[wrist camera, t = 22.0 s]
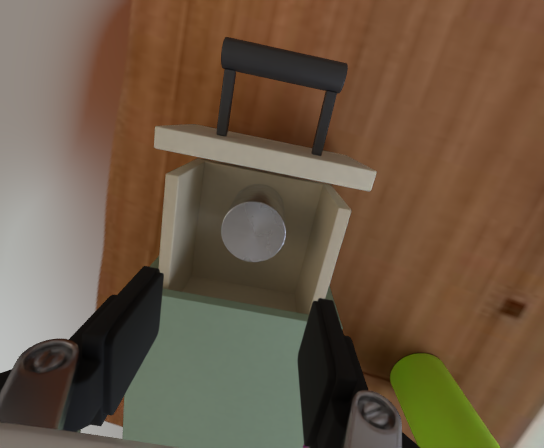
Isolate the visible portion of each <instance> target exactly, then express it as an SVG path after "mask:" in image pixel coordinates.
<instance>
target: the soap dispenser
mask: <svg viewBox="0 0 544 448" xmlns="http://www.w3.org/2000/svg"><path fill="white" fill-rule="evenodd" d="M390 381H391V384H392V387H393V389H394V391H395V394H396V396H397V398H398V401H399V403H400V405H401V408H402V410H403V412H404V415H405V417H406V419H407V421H408V424H409V426H410V428H411V431H412V433H413V435H414V438H415V440H416V442H417V445H418V446H419V447H420V448H500V446H499V445H498V443H497V442H496V440H495V439H494V438H493V436H492V435H491V433H490V432H489V430H488V429H487V427H486V426H485V424H484V423H483V421H482V420H481V418H480V417H479V415H478V414H477V412H476V411H475V410H474V408H473V407H472V405H471V404H470V402H469V401H468V399H467V398H466V396H465V395H464V393H463V392H462V390H461V389H460V387H459V386H458V384H457V383H456V382H455V380H454V379H453V377H452V376H451V374H450V373H449V371H448V370H447V368H446V367H445V365H444V364H443V362H442V361H441V360H440V359H439V358H437V357H435V356H433V355H430V354H425V353H418V354H412V355H409V356H406V357H404V358H402V359H401V360H400V361H398V362H397V363H396V364H395V365H394V367H393V368H392V370H391V373H390Z"/></svg>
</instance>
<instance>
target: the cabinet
mask: <svg viewBox="0 0 544 448" xmlns="http://www.w3.org/2000/svg"><path fill="white" fill-rule="evenodd" d="M150 267H153V268H158V267H159V256H158V258H157V259H156V260H155V261H154V262H153V263H152V264H151V266H150ZM325 299H328V300H333V302H334V299H333V296H332V292H331V289H330V286H329V287H328V291H327V294H326V297H325ZM334 305H335V302H334ZM335 308H336V305H335ZM336 311H337V309H336ZM337 315H338V312H337ZM308 317H309V315H308V314H302V313H297V312H291V311H286V310H280V309H274V308H269V307H263V306H258V305H252V304H247V303H241V302H235V301H230V300H224V299H219V298H213V297H208V296H202V295H197V294H191V293H185V292H180V291H174V290H169V289H163V291H162V303H161V314H160V326H159V332H158V335H157V337H156V339H155V341H154V343H153V345H152V346H151V348H150V350H149V352H148V354H147V355H146V357H145V359H144V361H143V363H142V364H141V366H140V368H139V370H138V371H137V373H136V375H135V377H134V379H133V380H132V382H131V384H130V386H129V388H128V389H127V391H126V393H125V395H124V417H123V439H125V440H132V441H138V442H145V443H152V444H158V445H165V446H171V447H178V448H303V445H304V438H303V426H302V413H301V400H300V388H299V375H298V363H297V359H298V352H299V348H300V345H301V341H302V338H303V334H304V331H305V327H306V324H307V320H308ZM338 318H339V315H338ZM339 321H340V318H339ZM340 325H341V328H342V329H343V327H342V324H341V321H340Z"/></svg>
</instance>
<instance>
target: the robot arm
mask: <svg viewBox="0 0 544 448" xmlns="http://www.w3.org/2000/svg"><path fill="white" fill-rule="evenodd" d="M163 280H164V274H163V273H160V270H159V269H158V268H153V267H147V266H144V267H143V268H142V269H141V270H140V271H139V272H138V273H137V274H136V275H135V276H134V277H133V279H132V280H131V281H130V282H129V283H128V284H127V285H126V286H125V287H124V288H123V289H122V291H121V292H120V293H119V294H118V295H111V296H110V297H109V298H108V299H107V300H106V301H105V302H104V303H103V304H102V305H101V306H100V307H99V308H98V309H97V310H96V311H95V313H94V314H93V315H92V316H91V317H90V318H89V319H88V320H87V321H86V322H85V323H84V325H82V326H81V327H80V328H79V329H78V331H77V332H76V333H75V334H74V335H73V336H72V337H71V338H70V339H69V340H67V339H51V340H46V341H43V342H40V343H38V344H35V345H33V346H32V347H30V348H28V349H27V350H26V351H24V352H23V353H22V354H21V356H20V357H19V358H18V359H17V361H16V363H15V365H14V367H13V369H12V370H9V371H6V372H3V373H0V448H178V447H171V446H165V445H158V444H152V443H145V442H138V441H132V440H125V439H118V438H112V437H104V436H98V435H91V434H85V433H80V431H81V429H82V428H84V427H86V426H88V425H97V426H101V425H102V424H103V422H104V420H105V418H106V417H107V415H113V414H114V412H115V411H116V409H117V407H118V406H119V404H120V402H121V400H122V398H123V397H124V395H125V393H126V391H127V389H128V388H129V386H130V384H131V382H132V380H133V379H134V377H135V375H136V373H137V371H138V370H139V368H140V366H141V364H142V363H143V361H144V359H145V357H146V355H147V354H148V352H149V350H150V348H151V346H152V345H153V343H154V341H155V339H156V337H157V335H158V332H159V326H160V314H161V303H162V291H163ZM297 363H298V375H299V388H300V400H301V413H302V426H303V438H304V445H305V446H308V447H309V448H420V447H419V446H418V445H417V444H415V443H414V442H413V441H412V440H411V439H410V438H408V437H407V436H406V435H405V434H404V433H402V423H401V418H400V415H399V413H398V411H397V409H396V408H395V407H394V405H393V404H392V403H391V402H390V401H389V400H388V399H386V398H385V397H384V396H382V395H380V394H379V393H376V392H373V391H369V390H368V388H367V385H366V382H365V379H364V376H363V373H362V370H361V367H360V364H359V361H358V358H357V355H356V352H355V349H354V346H353V343H352V340H351V338H350V337H349V336H344V334H343V331H342V328H341V325H340V321H339V318H338V315H337V311H336V308H335V305H334V302H333V300H328V299H323V298H319V299H318V301H313V303H312V306H311V310H310V313H309V317H308V320H307V324H306V327H305V331H304V334H303V338H302V341H301V345H300V348H299V352H298V359H297Z"/></svg>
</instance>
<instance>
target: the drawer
mask: <svg viewBox="0 0 544 448" xmlns="http://www.w3.org/2000/svg"><path fill="white" fill-rule="evenodd" d="M221 65H222V68H223V69H225V71H224V78H223V86H222V94H221V101H220V109H219V117H218V125H217V129H216V128H211V127H206V126H201V125H197V124H185V125H166V126H156V127H155V137H154V148H156V149H161V150H166V151H171V152H176V153H181V154H186V155H191V156H196V157H201V158H206V159H211V160H215V161H220V162H225V163H230V164H235V165H240V166H245V167H250V168H255V169H260V170H265V171H270V172H275V173H280V174H285V175H290V176H295V177H300V178H305V179H310V180H315V181H320V182H325V183H330V184H335V185H340V186H345V187H350V188H355V189H360V190H365V191H371V189H372V185H373V182H374V179H375V176H376V173H377V172H376V171H375V170H373V169H371V168H369V167H367V166H366V165H364V164H362V163H360V162H358V161H356V160H354V159H352V158H350V157H348V156H347V155H342V154H337V153H333V152H328V151H323V147H324V143H325V139H326V135H327V131H328V127H329V123H330V119H331V115H332V111H333V107H334V103H335V99H336V95H337V93H340V92H341V90H342V88H343V85H344V82H345V79H346V75H347V69H348V65H347V64H346V63H343V62H338V61H334V60H329V59H324V58H320V57H315V56H311V55H306V54H302V53H297V52H293V51H288V50H284V49H279V48H275V47H270V46H266V45H261V44H257V43H252V42H247V41H243V40H238V39H234V38H229V37H225V39H224V41H223V46H222V53H221ZM235 71H236V72H241V73H246V74H250V75H255V76H260V77H264V78H269V79H273V80H278V81H283V82H287V83H292V84H297V85H301V86H306V87H311V88H315V89H320V90H325V91H326V92H325V97H324V101H323V105H322V109H321V114H320V118H319V122H318V126H317V131H316V135H315V139H314V143H313V147H312V148H308V147H303V146H299V145H294V144H289V143H284V142H279V141H274V140H269V139H265V138H260V137H255V136H250V135H245V134H240V133H235V132H231V131H228V126H229V119H230V112H231V105H232V98H233V91H234V84H235V77H236V72H235ZM215 161H210V160H205V159H200V158H197V159H195V160H194V161H191V162H189V163H187V164H185V165H183V166H181V167H179V168H177V169H175V170H173V171H171V172H169V173H167V174H166V179H165V191H164V204H163V216H162V229H161V242H160V254H159V267H158V269H159V270H160V273H163V274H164V280H163V289H169V290H174V291H180V292H185V293H191V294H197V295H202V296H208V297H213V298H219V299H224V300H230V301H235V302H241V303H247V304H252V305H258V306H263V307H269V308H274V309H280V310H286V311H291V312H297V313H302V314H308V315H309V313H310V310H311V306H312V303H313V301H318V299H319V298H323V299H325V297H326V294H327V291H328V287H329V284H330V281H331V277H332V274H333V271H334V267H335V264H336V261H337V257H338V254H339V251H340V247H341V244H342V240H343V237H344V234H345V230H346V227H347V224H348V220H349V217H350V214H351V209H350V208H349V207H348V205H347V204H346V203H345V202H344V200H343V199H342V198H341V197H340V195H339V194H338V193H337V192H336V191H335V189H334V188H333V187H332V186H331V185H330V184H325V183H320V182H315V181H310V180H305V179H300V178H295V177H290V176H285V175H280V174H275V173H270V172H265V171H260V170H255V169H250V168H245V167H240V166H235V165H230V164H225V163H220V162H215ZM252 184H264V185H267V186H270V187H271V188H273V189H274V190H276V191H277V192H278V193H279V195H280V196H281V198H282V200H283V203H284V212H285V226H286V237H285V241H284V244H283V246H282V248H281V249H280V250H279V252H278V253H277V254H276V255H274V256H273V257H272V258H270V259H268V260H265V261H261V262H247V261H243V260H241V259H239V258H237V257H235V256H234V255H232V254H231V253H230V252H229V251H228V250H227V248H226V247H225V245H224V243H223V240H222V237H221V225H222V222H223V219H224V217H225V215H226V214H227V212H228V210H229V208H230V206H231V204H232V203H233V201H234V199H235V197H236V195H237V194H238V193H239V192H240V191H241V190H242V189H243V188H245V187H246V186H249V185H252Z"/></svg>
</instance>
